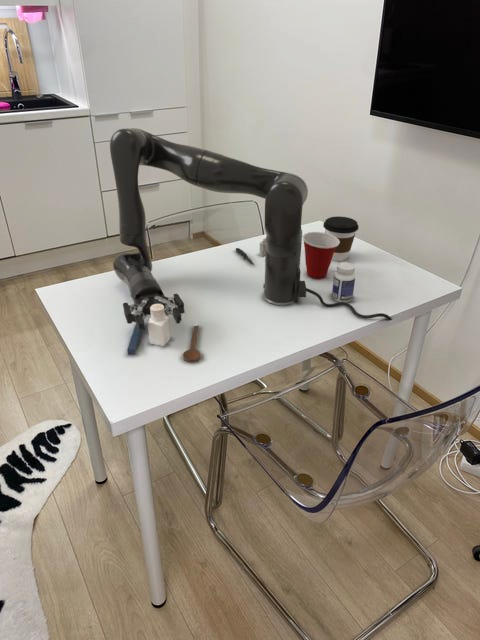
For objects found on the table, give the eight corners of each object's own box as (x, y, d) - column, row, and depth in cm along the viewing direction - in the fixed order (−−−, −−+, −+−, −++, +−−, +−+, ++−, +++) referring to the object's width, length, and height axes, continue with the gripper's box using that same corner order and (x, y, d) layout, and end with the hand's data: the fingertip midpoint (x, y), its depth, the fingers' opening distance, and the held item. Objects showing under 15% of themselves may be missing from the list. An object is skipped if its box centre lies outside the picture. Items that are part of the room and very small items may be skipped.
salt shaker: (148, 344, 116) (145, 309, 111) (157, 335, 119) (153, 301, 114) (163, 347, 115) (160, 312, 110) (171, 338, 118) (169, 304, 113)
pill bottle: (354, 295, 137) (359, 263, 132) (349, 305, 132) (354, 272, 127) (334, 291, 139) (338, 259, 134) (328, 300, 134) (332, 267, 129)
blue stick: (144, 324, 123) (144, 319, 123) (134, 354, 112) (134, 349, 112) (138, 324, 123) (137, 319, 123) (127, 354, 112) (127, 349, 112)
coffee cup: (357, 264, 154) (362, 228, 148) (322, 264, 154) (326, 228, 148) (350, 250, 163) (355, 216, 157) (318, 250, 163) (321, 215, 157)
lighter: (262, 256, 159) (263, 233, 154) (259, 254, 160) (259, 231, 155) (278, 250, 163) (279, 227, 158) (274, 248, 164) (275, 226, 159)
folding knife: (254, 267, 152) (254, 261, 151) (251, 267, 152) (251, 261, 151) (237, 251, 162) (237, 245, 161) (234, 251, 162) (234, 246, 161)
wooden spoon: (204, 328, 122) (204, 325, 122) (200, 362, 110) (199, 359, 110) (188, 328, 122) (188, 325, 122) (182, 362, 110) (182, 359, 110)
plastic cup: (334, 285, 142) (339, 247, 136) (297, 281, 144) (300, 243, 138) (336, 269, 151) (340, 232, 145) (301, 265, 153) (304, 229, 147)
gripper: (115, 283, 121) (128, 315, 108) (171, 273, 125) (190, 303, 112) (119, 309, 125) (131, 343, 112) (173, 299, 129) (191, 331, 116)
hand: (161, 323), depth 112 cm, fingers open, 7 cm apart
